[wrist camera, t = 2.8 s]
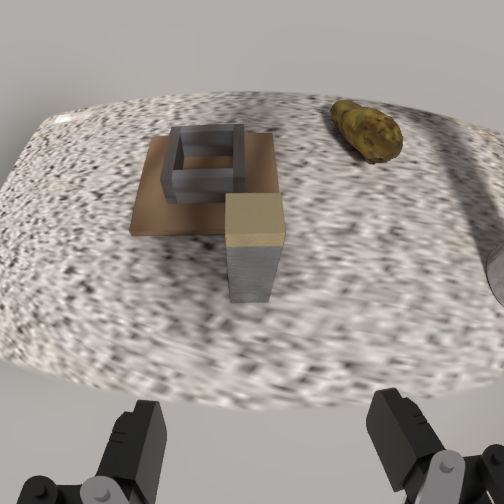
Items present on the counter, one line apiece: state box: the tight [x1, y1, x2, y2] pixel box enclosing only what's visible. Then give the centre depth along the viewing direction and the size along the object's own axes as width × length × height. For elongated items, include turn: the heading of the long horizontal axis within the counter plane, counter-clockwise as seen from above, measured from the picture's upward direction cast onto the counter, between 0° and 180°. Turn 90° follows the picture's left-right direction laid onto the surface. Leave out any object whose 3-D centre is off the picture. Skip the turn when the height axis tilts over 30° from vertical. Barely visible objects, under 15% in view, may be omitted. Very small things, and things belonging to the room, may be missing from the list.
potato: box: [331, 100, 403, 165], centre depth 36 cm, size 8×13×8 cm, turn 175°
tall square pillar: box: [225, 193, 286, 303], centre depth 24 cm, size 4×3×12 cm
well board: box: [129, 124, 279, 236], centre depth 33 cm, size 16×15×5 cm
